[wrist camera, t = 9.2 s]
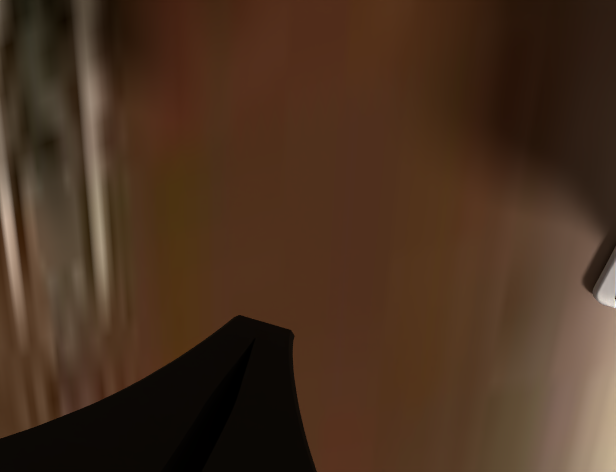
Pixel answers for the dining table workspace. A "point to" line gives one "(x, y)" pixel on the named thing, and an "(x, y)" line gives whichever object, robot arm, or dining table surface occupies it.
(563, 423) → the dining table surface
